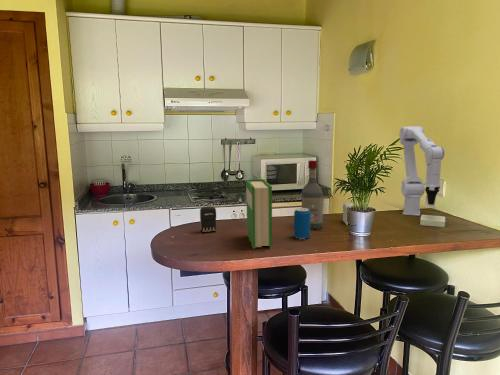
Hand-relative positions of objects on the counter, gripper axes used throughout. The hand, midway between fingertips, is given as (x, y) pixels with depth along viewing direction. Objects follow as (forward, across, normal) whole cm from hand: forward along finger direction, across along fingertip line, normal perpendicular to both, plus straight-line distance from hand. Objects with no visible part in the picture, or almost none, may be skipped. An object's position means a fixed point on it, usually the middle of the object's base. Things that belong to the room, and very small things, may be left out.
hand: (431, 203), depth 177 cm
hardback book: (+10, +56, -60) cm, 83 cm away
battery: (+10, +52, -86) cm, 101 cm away
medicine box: (+10, +14, -34) cm, 38 cm away
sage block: (+9, 0, +1) cm, 9 cm away
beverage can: (+10, +44, -46) cm, 65 cm away
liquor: (+10, +27, -48) cm, 56 cm away
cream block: (+2, 0, 0) cm, 2 cm away
